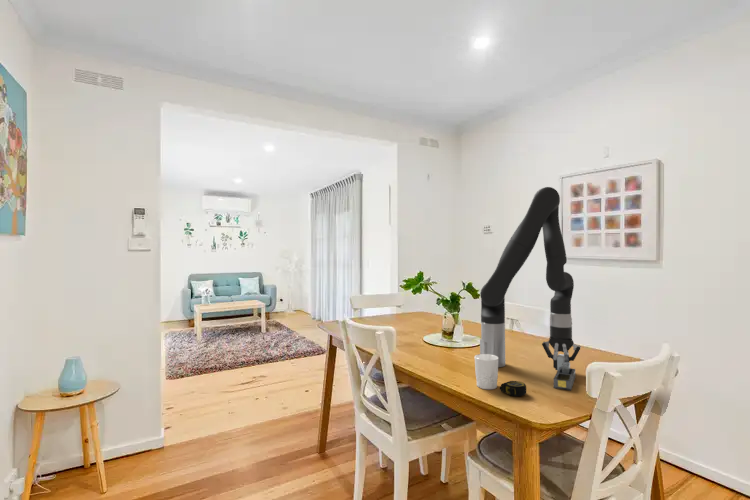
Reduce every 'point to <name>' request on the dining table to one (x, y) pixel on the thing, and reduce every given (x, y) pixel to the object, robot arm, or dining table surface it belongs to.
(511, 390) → the tape measure
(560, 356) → the panel
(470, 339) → the dining table surface
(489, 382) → the white cup
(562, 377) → the box
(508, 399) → the dining table surface
